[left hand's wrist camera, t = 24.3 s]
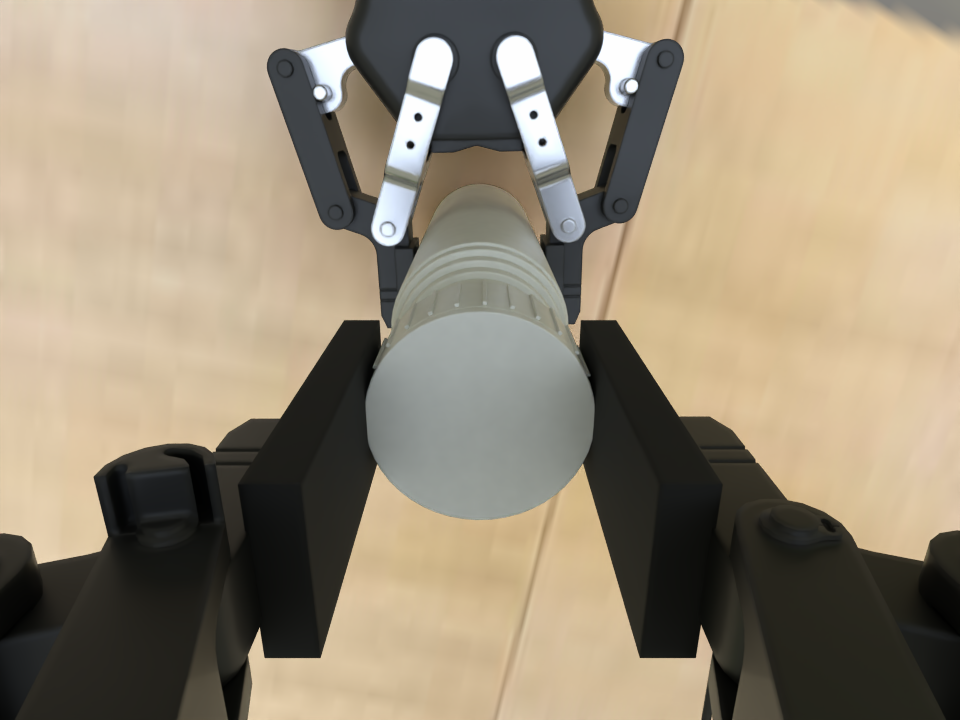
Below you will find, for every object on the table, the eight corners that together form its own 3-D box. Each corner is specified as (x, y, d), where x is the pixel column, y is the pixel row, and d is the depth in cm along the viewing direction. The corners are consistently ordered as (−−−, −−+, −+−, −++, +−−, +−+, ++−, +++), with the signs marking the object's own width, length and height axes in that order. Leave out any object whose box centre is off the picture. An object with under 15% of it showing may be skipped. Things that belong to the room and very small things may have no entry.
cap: (543, 247, 13) (555, 271, 11) (607, 432, 15) (628, 482, 13) (343, 322, 14) (320, 358, 12) (425, 492, 15) (417, 550, 13)
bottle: (487, 161, 29) (498, 238, 12) (550, 242, 31) (646, 422, 13) (409, 228, 31) (309, 391, 13) (473, 303, 32) (464, 546, 14)
